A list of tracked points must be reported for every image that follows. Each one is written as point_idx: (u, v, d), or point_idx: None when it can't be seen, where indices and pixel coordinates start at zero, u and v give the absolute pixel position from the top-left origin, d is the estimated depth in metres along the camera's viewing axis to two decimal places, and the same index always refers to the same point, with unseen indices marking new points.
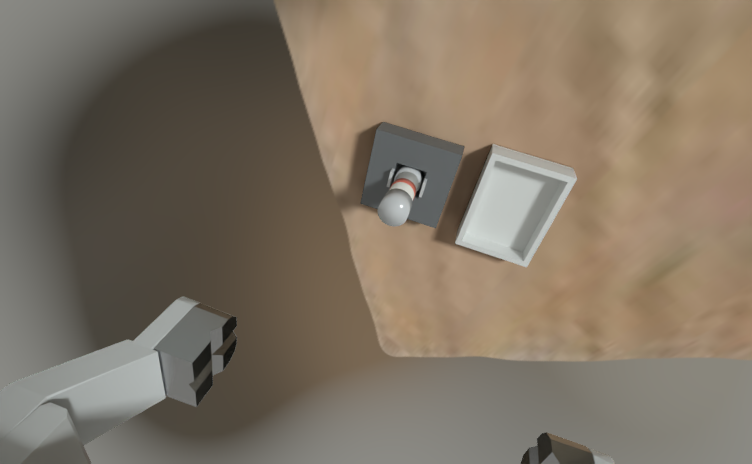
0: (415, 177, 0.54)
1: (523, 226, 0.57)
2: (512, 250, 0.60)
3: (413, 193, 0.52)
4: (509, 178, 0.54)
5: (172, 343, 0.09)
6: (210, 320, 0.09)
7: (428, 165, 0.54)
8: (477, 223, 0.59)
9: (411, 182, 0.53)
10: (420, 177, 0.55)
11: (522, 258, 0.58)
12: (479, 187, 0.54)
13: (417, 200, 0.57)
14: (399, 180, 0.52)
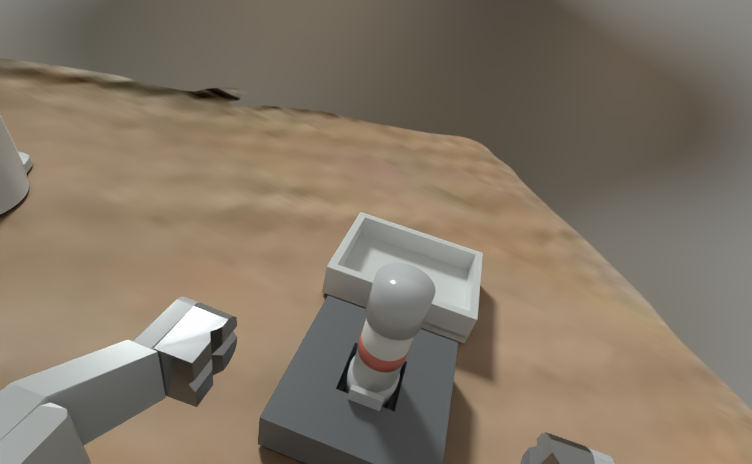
0: None
1: (431, 267, 0.45)
2: (468, 276, 0.45)
3: None
4: (368, 274, 0.42)
5: (172, 343, 0.09)
6: (210, 320, 0.09)
7: (342, 338, 0.31)
8: None
9: None
10: None
11: (473, 259, 0.45)
12: None
13: (410, 363, 0.31)
14: (359, 345, 0.27)
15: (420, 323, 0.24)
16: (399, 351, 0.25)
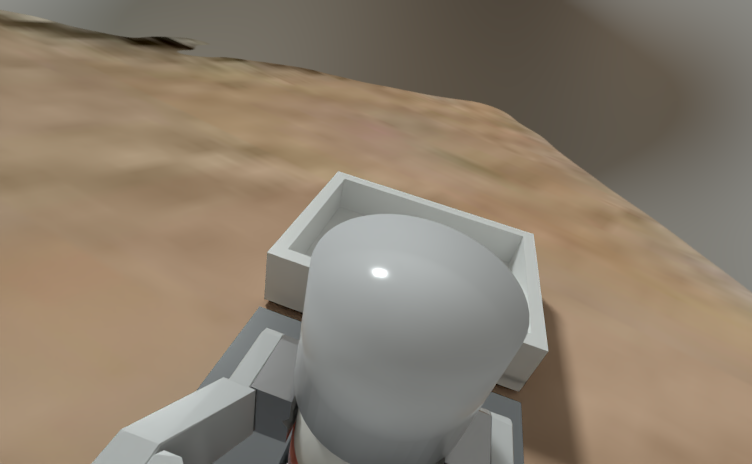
0: None
1: None
2: (511, 271, 0.27)
3: None
4: None
5: (267, 380, 0.09)
6: None
7: None
8: None
9: None
10: None
11: (519, 245, 0.28)
12: None
13: None
14: (290, 451, 0.10)
15: (474, 415, 0.07)
16: None
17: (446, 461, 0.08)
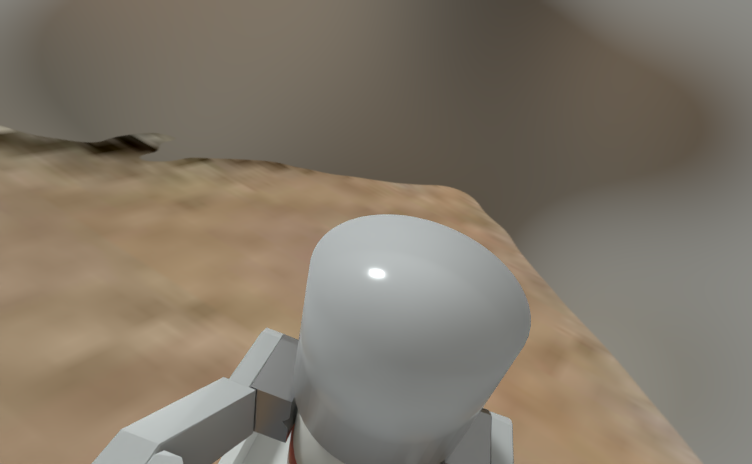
0: None
1: None
2: None
3: None
4: None
5: (267, 380, 0.09)
6: None
7: None
8: None
9: None
10: None
11: None
12: None
13: None
14: (289, 453, 0.10)
15: (474, 418, 0.07)
16: None
17: (446, 461, 0.08)
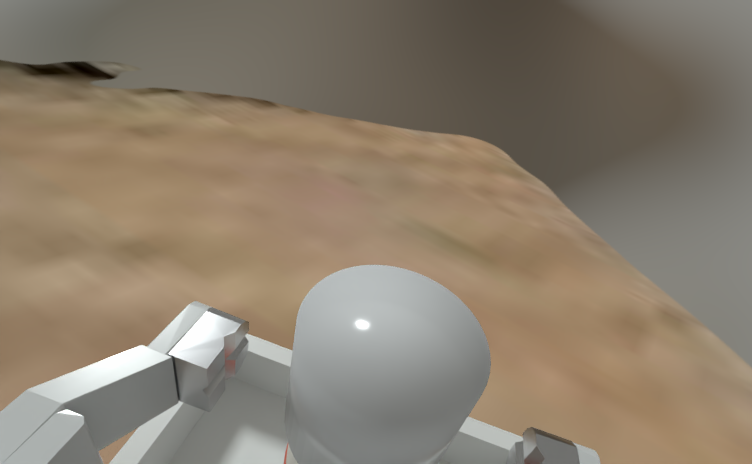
0: None
1: None
2: None
3: None
4: None
5: (186, 348, 0.09)
6: (223, 325, 0.09)
7: None
8: None
9: None
10: None
11: None
12: None
13: None
14: None
15: (443, 453, 0.08)
16: None
17: None
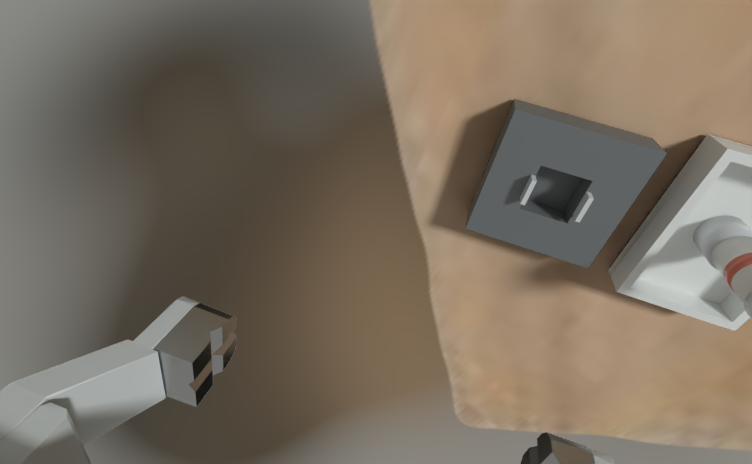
0: None
1: None
2: (705, 301, 0.38)
3: None
4: (729, 191, 0.33)
5: (172, 343, 0.09)
6: (210, 320, 0.09)
7: (598, 170, 0.32)
8: None
9: None
10: None
11: (727, 316, 0.37)
12: (685, 206, 0.32)
13: (565, 225, 0.36)
14: None
15: None
16: (737, 292, 0.29)
17: None
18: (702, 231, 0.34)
